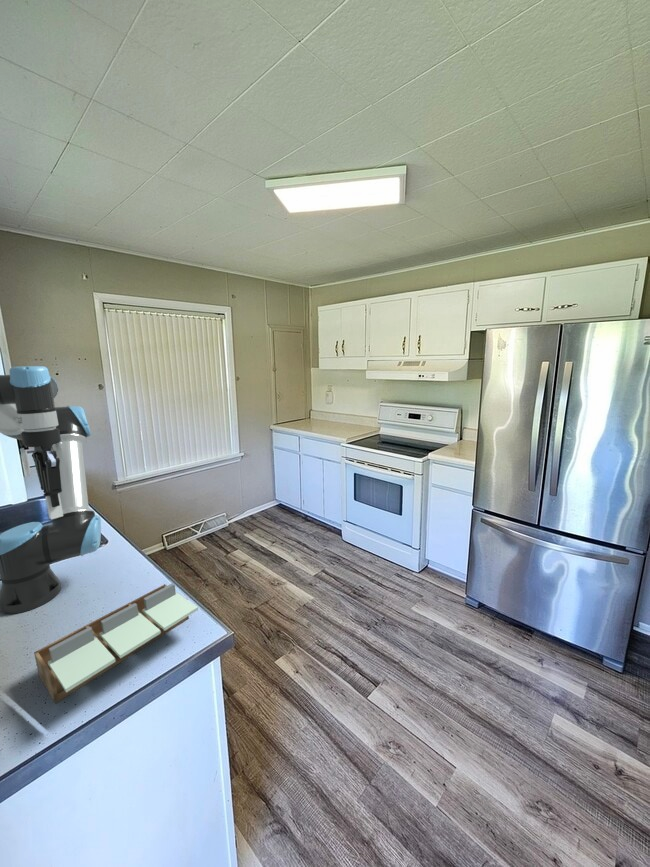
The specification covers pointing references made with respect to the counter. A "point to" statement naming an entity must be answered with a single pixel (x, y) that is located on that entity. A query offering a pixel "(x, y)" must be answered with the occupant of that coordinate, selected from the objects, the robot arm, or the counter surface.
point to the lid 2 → (127, 630)
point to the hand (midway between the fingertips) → (56, 517)
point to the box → (44, 654)
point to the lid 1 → (78, 659)
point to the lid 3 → (167, 607)
